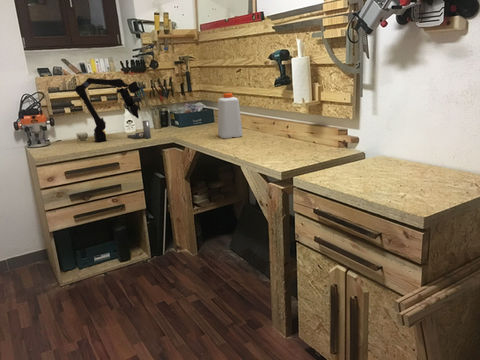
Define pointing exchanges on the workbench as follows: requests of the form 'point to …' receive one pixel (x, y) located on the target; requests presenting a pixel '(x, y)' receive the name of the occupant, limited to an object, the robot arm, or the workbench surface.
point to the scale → (137, 135)
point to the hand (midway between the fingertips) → (136, 116)
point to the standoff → (146, 129)
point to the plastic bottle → (229, 117)
